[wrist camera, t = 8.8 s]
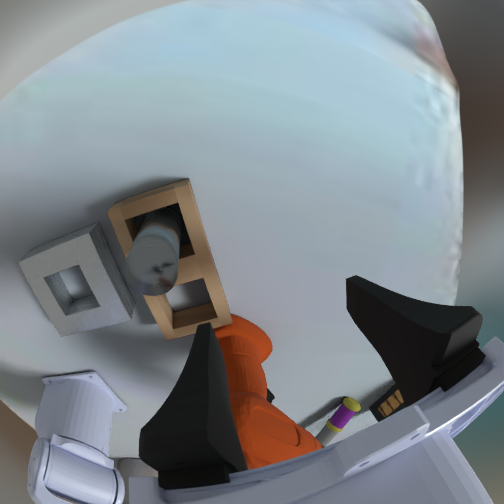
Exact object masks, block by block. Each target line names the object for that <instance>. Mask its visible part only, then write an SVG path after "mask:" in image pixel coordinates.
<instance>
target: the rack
mask: <svg viewBox="0 0 504 504" xmlns="http://www.w3.org/2000/svg"><path fill="white" fill-rule="evenodd" d="M175 203H179V206H180V209H181V213H182V216H183V219H184V222H185V225H186V228H187V231H188V234H189V237H190V240H191V243H189V244H185V245H182V246H180V250H179V263H178V277H177V281H176V283H175V285H174V286H176V285H179V284H183V283H186V282H190V281H193V280H197V279H200V278H204V281H205V284H206V287H207V289H208V292H209V295H210V298H211V300H212V302H210V303H207V304H203V305H200V306H196V307H193V308H189V309H185V310H182V311H178V312H174V313H173V311H172V308H171V306H170V304H169V302H168V300H167V298H166V295H165V294H162V295H159V296H147V295H143V296H144V298H145V300H146V302H147V304H148V306H149V308H150V310H151V312H152V314H153V316H154V318H155V320H156V322H157V324H158V326H159V327H160V329H161V331H162V333H163V335H164V337H165V338H166V340H171V339H175V338H179V337H183V336H187V335H190V334H194V333H196V329H197V326H198V325H200V324H204V323H207V322H210V323H211V325H212V327H213V328H217V327H220V326H224V325H227V324H231V323H233V322H232V318H231V314H230V310H229V306H228V303H227V300H226V297H225V294H224V291H223V288H222V285H221V282H220V279H219V276H218V272H217V269H216V266H215V263H214V260H213V257H212V254H211V250H210V247H209V244H208V241H207V237H206V234H205V231H204V228H203V224H202V221H201V218H200V214H199V211H198V208H197V204H196V201H195V197H194V194H193V190H192V187H191V183H190V180H189V178H187V179H184V180H181V181H178V182H174V183H171V184H168V185H165V186H162V187H159V188H156V189H153V190H150V191H147V192H144V193H141V194H138V195H135V196H132V197H129V198H126V199H124V200H121V201H118V202H116V203H115V204H114V205H113V206H112V207H111V208H110V209H109V210H108V211H107V213H108V215H109V218H110V221H111V223H112V226H113V228H114V231H115V233H116V236H117V238H118V241H119V243H120V246H121V248H122V250H123V253H124V255H125V257H126V258H127V256H128V253H129V251H130V249H131V247H132V245H133V242H134V240H135V238H136V236H137V234H138V232H139V230H138V228H137V225H136V222H135V220H134V217H135V216H138V215H141V214H144V213H147V212H150V211H153V210H156V209H159V208H162V207H165V206H168V205H172V204H175Z"/></svg>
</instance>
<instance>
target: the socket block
mask: <svg viewBox="0 0 504 504" xmlns="http://www.w3.org/2000/svg"><path fill="white" fill-rule="evenodd" d="M18 264H19V266H20V268H21V270H22V272H23V274H24V276H25V277H26V279H27V281H28V283H29V285H30V287H31V289H32V290H33V292H34V294H35V296H36V297H37V299H38V301H39V303H40V304H41V306H42V308H43V309H44V311H45V312H46V314H47V316H48V317H49V319H50V320H51V322H52V323H53V325H54V326H55V328H56V329H57V331H58V332H59V334H60V335H61V337H62V336H67V335H71V334H76V333H80V332H84V331H89V330H93V329H97V328H101V327H105V326H109V325H114V324H118V323H122V322H126V321H130V320H132V315H133V311H134V307H135V302H134V300H133V298H132V296H131V294H130V292H129V290H128V288H127V286H126V284H125V282H124V280H123V278H122V276H121V274H120V271H119V269H118V267H117V265H116V263H115V261H114V258H113V256H112V254H111V251H110V249H109V247H108V245H107V242H106V240H105V237H104V235H103V232H102V230H101V228H100V225H99V222H98V223H95V224H92V225H90V226H87V227H85V228H82V229H80V230H77V231H75V232H72V233H70V234H67V235H65V236H63V237H60V238H58V239H55V240H53V241H51V242H48V243H46V244H44V245H42V246H39V247H37V248H35V249H33V250H31V251H29V252H28V253H27V254H26V255H25V256H24V257H23V258H22V259H21V260H20V261H19V262H18ZM76 265H79V266H80V268H81V270H82V272H83V274H84V276H85V278H86V280H87V282H88V284H89V286H90V288H91V290H92V292H93V294H94V295H91V296H88V297H85V298H81V299H78V300H75V301H73V299H72V297H71V295H70V294H69V292H68V290H67V288H66V286H65V285H64V283H63V281H62V279H61V277H60V275H59V273H58V272H59V271H62V270H65V269H68V268H70V267H73V266H76Z"/></svg>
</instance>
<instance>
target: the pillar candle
mask: <svg viewBox="0 0 504 504" xmlns="http://www.w3.org/2000/svg"><path fill="white" fill-rule="evenodd" d="M117 470H118V471H119V472H120V474H121V476H122V478H123V481H124V487H125V494H124V499H123V503H122V504H129V477H157V478H158V471H156V470H155V469H153V468H151V467H150V466H148V465H147V464H145V463H144V462H143V461H142V460H141V459H134V458H124V459H121V460H119V461H118V469H117Z"/></svg>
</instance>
